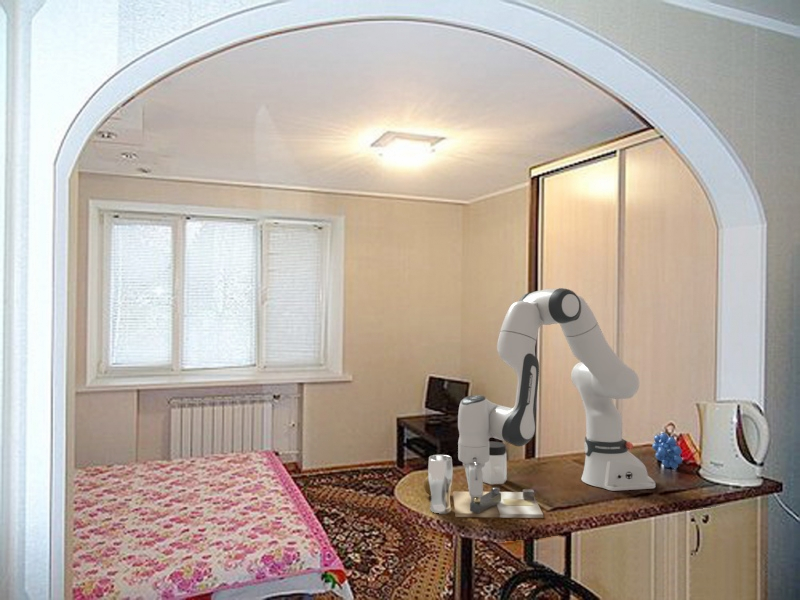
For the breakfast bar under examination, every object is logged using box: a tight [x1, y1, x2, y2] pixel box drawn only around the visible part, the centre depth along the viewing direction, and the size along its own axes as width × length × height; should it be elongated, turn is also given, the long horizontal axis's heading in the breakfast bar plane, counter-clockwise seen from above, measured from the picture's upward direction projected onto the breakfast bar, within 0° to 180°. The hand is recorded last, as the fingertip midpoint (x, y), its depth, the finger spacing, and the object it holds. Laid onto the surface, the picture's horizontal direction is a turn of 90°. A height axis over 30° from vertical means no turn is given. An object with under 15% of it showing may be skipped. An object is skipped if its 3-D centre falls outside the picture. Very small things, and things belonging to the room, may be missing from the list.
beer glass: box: [427, 454, 454, 515], centre depth 165 cm, size 7×7×15 cm
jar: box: [482, 441, 508, 486], centre depth 191 cm, size 9×8×12 cm
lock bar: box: [470, 486, 501, 514], centre depth 164 cm, size 13×3×4 cm, turn 141°
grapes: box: [651, 432, 683, 470], centre depth 204 cm, size 12×7×12 cm, turn 28°
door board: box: [452, 488, 544, 519], centre depth 168 cm, size 24×18×4 cm
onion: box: [423, 476, 431, 497], centre depth 177 cm, size 8×8×8 cm
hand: (474, 502), depth 165 cm, fingers closed
